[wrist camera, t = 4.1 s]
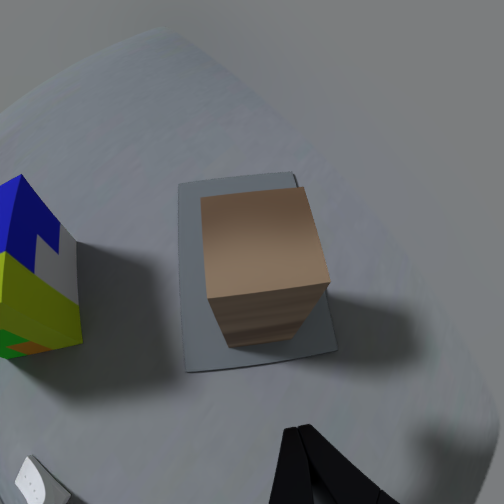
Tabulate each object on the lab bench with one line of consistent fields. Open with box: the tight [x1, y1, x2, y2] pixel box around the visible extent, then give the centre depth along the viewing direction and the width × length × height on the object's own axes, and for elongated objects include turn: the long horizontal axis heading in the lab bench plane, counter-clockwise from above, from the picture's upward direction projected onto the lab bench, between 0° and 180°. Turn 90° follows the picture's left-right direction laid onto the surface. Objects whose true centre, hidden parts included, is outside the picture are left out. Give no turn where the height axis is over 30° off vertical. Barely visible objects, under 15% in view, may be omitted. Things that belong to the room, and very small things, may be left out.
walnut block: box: [200, 187, 331, 348], centre depth 16 cm, size 4×4×11 cm
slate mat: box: [178, 172, 338, 372], centre depth 23 cm, size 17×11×1 cm, turn 8°
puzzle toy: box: [0, 174, 83, 359], centre depth 17 cm, size 10×10×10 cm
